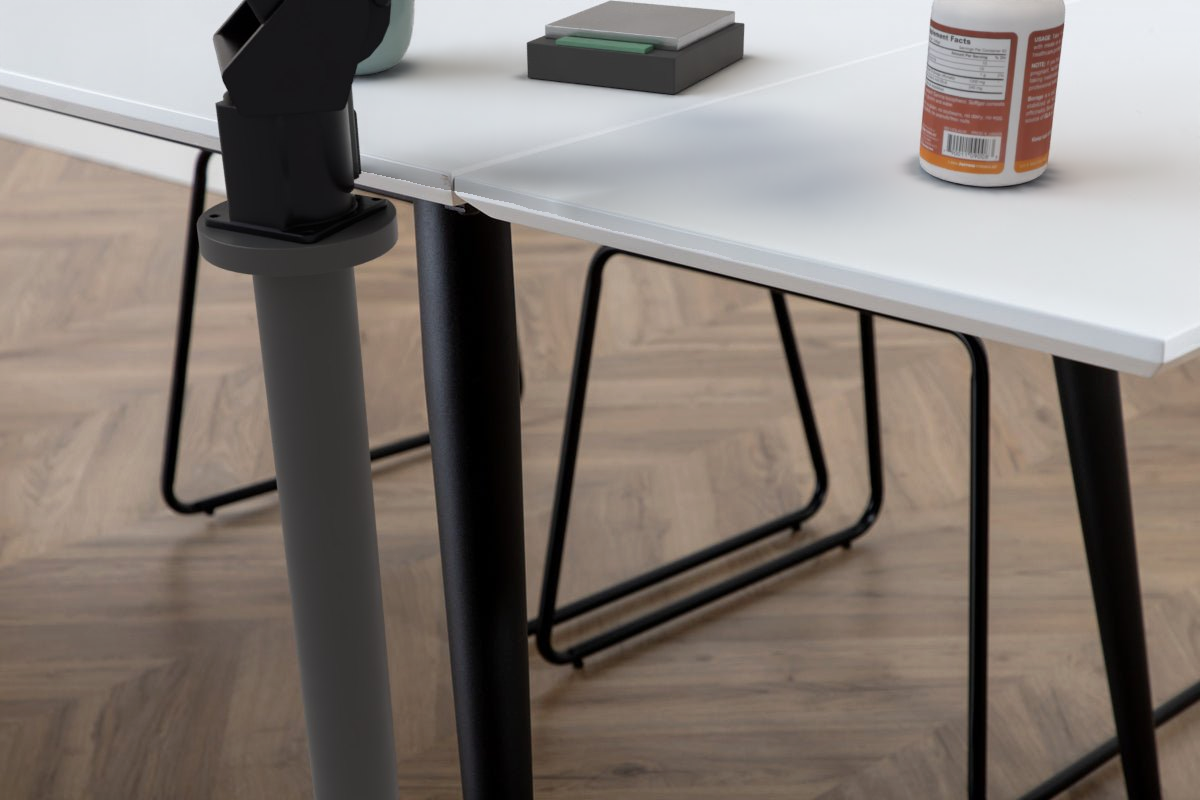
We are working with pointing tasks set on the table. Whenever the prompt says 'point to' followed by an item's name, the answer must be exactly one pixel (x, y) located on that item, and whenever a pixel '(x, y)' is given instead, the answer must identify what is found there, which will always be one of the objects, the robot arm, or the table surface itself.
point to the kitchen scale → (637, 46)
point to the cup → (392, 39)
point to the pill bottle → (990, 89)
